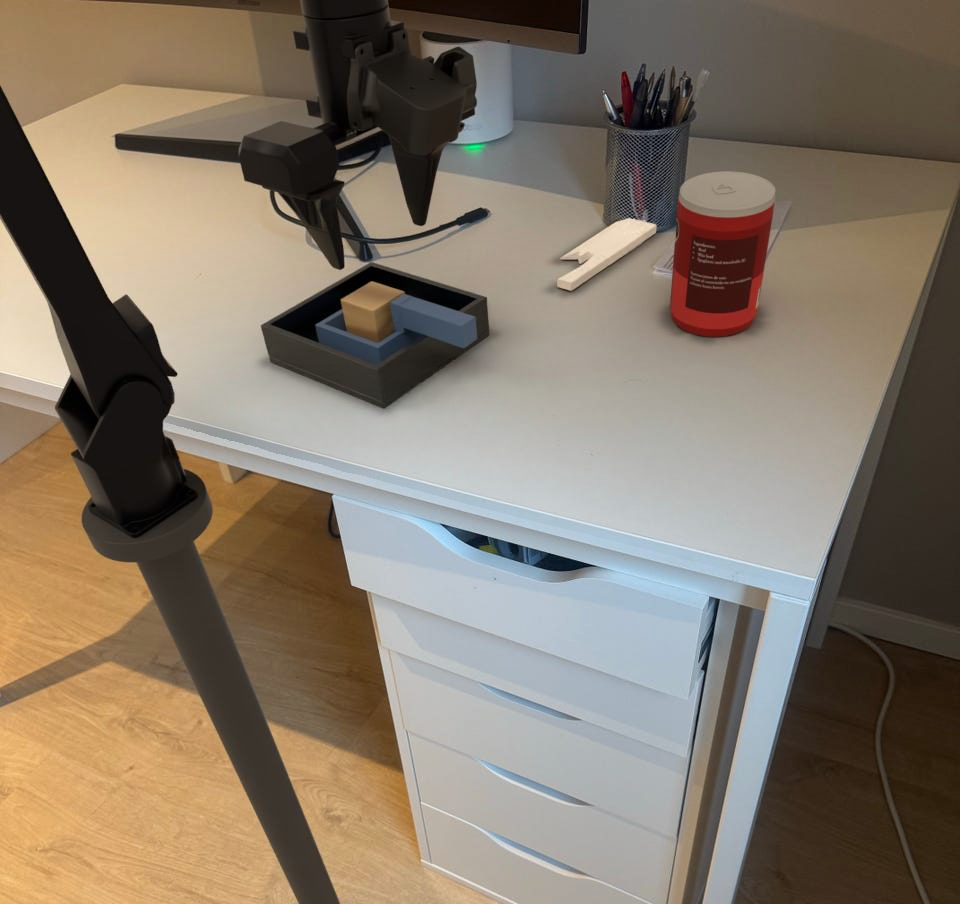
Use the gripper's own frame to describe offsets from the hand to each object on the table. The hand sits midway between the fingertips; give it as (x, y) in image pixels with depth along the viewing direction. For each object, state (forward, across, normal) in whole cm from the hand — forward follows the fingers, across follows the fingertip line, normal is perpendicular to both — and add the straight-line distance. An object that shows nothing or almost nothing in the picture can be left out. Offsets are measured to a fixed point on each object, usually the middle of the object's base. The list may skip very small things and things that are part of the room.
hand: (380, 245), depth 71 cm
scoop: (+10, +2, +1) cm, 11 cm away
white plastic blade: (+11, +27, -2) cm, 29 cm away
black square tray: (+11, +2, +4) cm, 12 cm away
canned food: (+11, +22, -18) cm, 31 cm away
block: (+10, +2, +4) cm, 11 cm away
